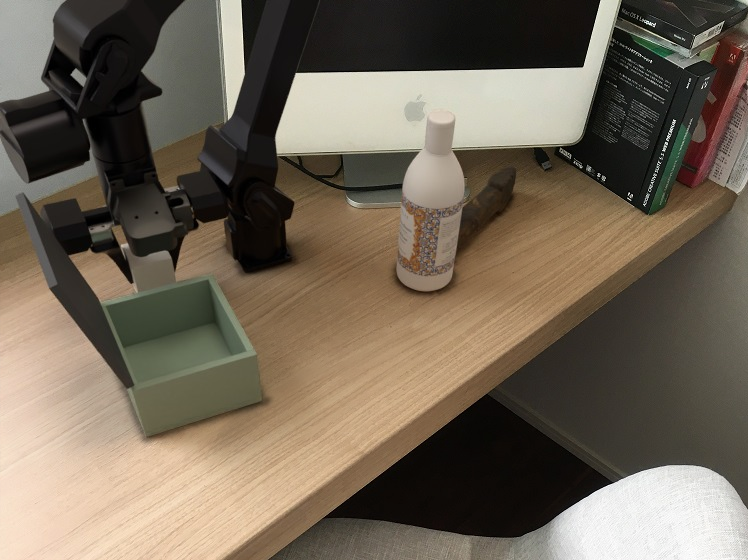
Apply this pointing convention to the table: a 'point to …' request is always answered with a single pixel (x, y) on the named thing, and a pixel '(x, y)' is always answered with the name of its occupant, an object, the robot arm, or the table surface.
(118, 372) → the box lid
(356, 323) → the table surface
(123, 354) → the open box
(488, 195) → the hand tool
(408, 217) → the bath foam
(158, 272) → the white block
